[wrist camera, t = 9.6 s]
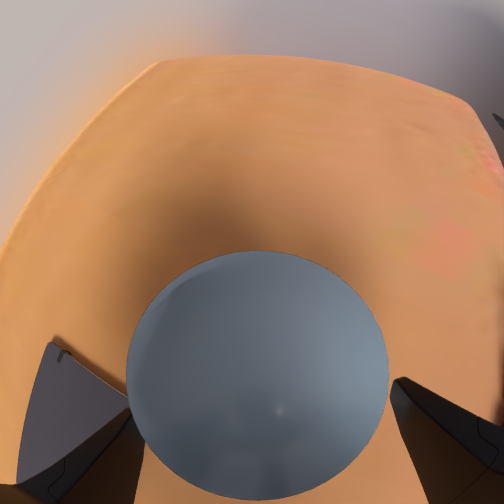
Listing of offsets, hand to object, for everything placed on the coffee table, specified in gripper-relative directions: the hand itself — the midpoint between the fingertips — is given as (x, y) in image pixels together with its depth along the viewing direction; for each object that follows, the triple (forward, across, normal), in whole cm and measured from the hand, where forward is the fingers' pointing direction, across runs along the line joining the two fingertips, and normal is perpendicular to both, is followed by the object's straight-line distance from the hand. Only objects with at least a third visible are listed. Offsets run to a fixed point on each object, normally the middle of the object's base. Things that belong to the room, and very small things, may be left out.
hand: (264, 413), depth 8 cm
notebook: (+3, +19, +13) cm, 23 cm away
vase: (+8, 0, +6) cm, 10 cm away
